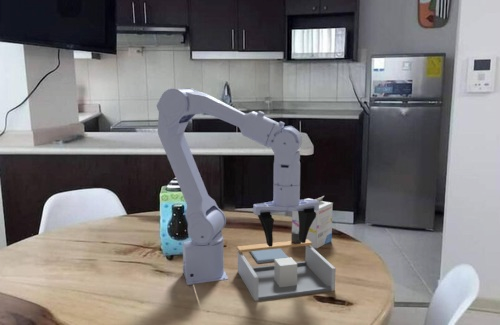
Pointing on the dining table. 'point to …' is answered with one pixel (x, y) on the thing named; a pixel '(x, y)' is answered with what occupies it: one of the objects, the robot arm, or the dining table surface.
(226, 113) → the robot arm
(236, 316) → the dining table surface
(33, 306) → the dining table surface
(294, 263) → the block
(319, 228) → the ink box
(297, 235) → the bar
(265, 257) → the pad
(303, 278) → the case
